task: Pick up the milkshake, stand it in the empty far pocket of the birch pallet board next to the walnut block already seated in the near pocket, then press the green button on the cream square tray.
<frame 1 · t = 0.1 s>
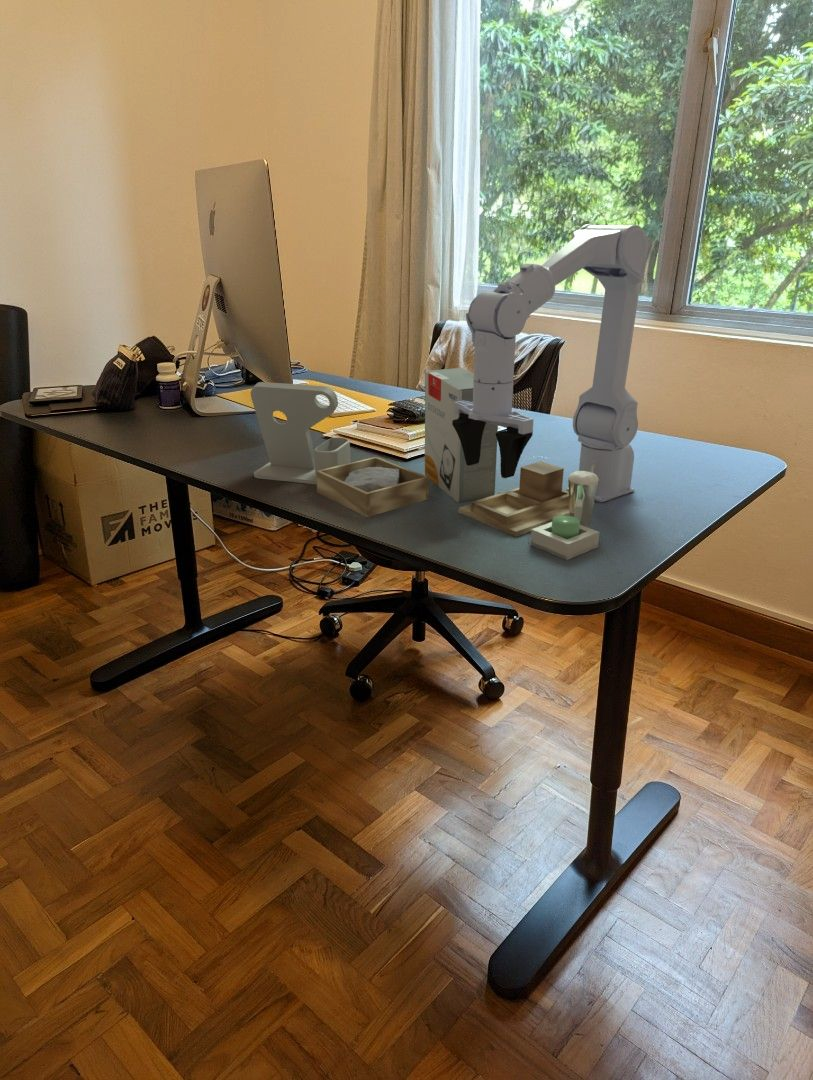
hand: (489, 470, 112), 10 cm above the table, tool pointing down, fingers open, 7 cm apart
milkshake: (580, 527, 118), on the table
wooden tray: (372, 495, 131), on the table
pallet: (523, 511, 124), on the table
hard drive box: (458, 487, 136), on the table
cream square tray: (563, 545, 111), on the table
stone block: (371, 496, 131), resting in wooden tray
phone holder: (304, 474, 143), on the table
button: (565, 528, 110), point 3 cm above the table, slide at 0.0 cm
walnut block: (539, 501, 126), point 1 cm above the table, touching pallet
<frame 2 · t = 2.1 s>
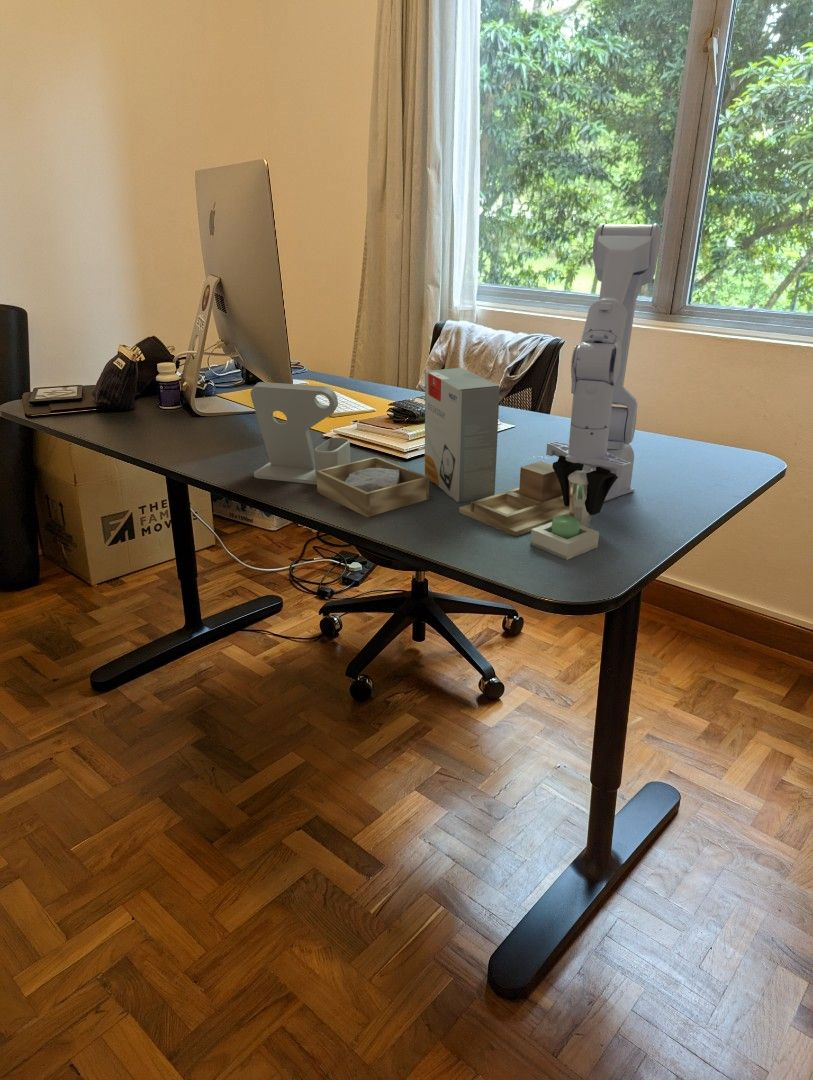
hand: (581, 508, 117), 3 cm above the table, tool pointing down, fingers closed on milkshake, 4 cm apart
milkshake: (580, 526, 118), on the table, touching gripper
stone block: (371, 496, 131), resting in wooden tray
everything else where it was.
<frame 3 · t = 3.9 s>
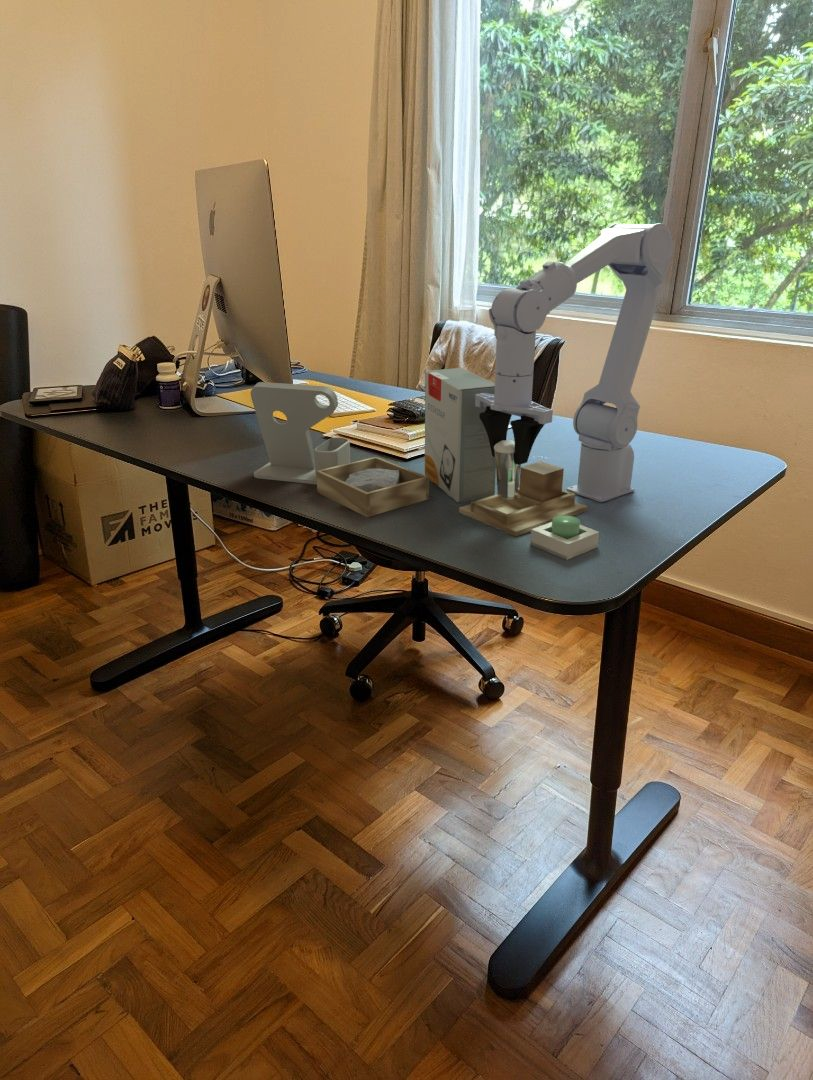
hand: (509, 459, 118), 10 cm above the table, tool pointing down, fingers closed on milkshake, 4 cm apart
milkshake: (509, 496, 120), point 4 cm above the table, touching gripper
everything else where it was.
when the fingers open (5 cm above the table, at t = 5.2 s): milkshake stays where it is, resting on pallet.
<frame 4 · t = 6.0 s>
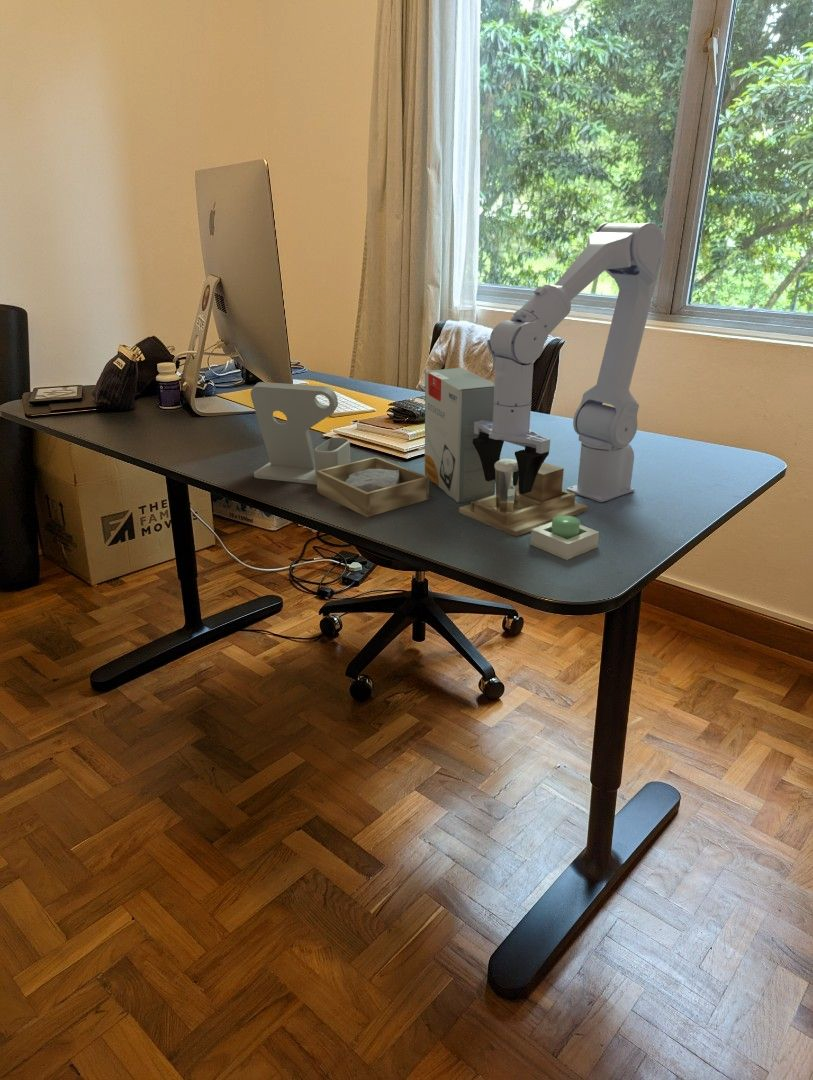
hand: (507, 485, 120), 5 cm above the table, tool pointing down, fingers open, 7 cm apart
milkshake: (507, 513, 122), point 1 cm above the table, touching pallet
everything else where it was.
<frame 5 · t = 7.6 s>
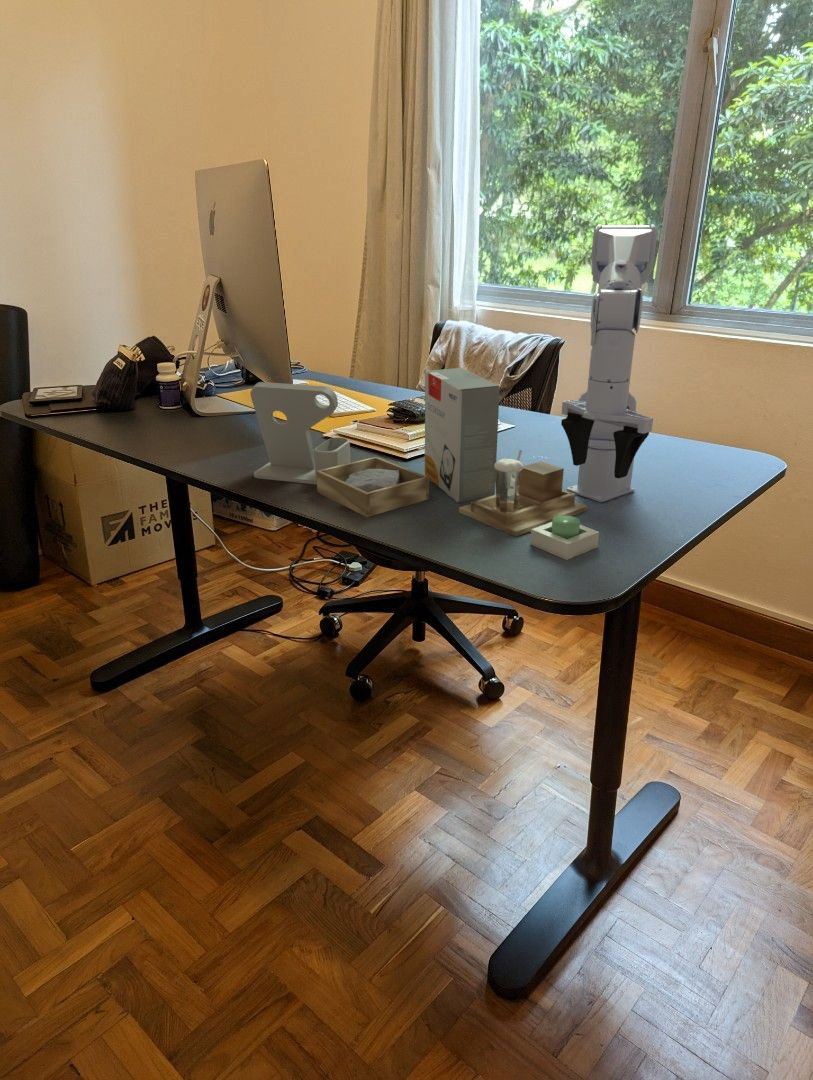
hand: (599, 470, 111), 10 cm above the table, tool pointing down, fingers open, 7 cm apart
nothing on the table moved.
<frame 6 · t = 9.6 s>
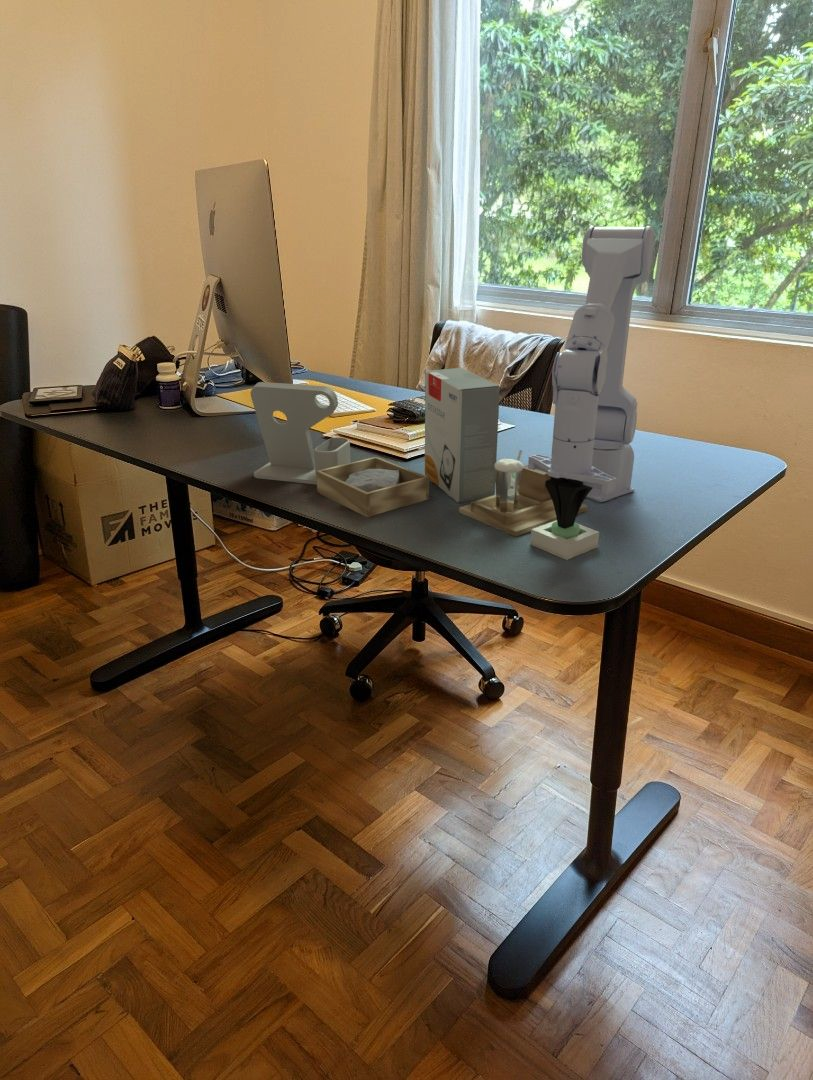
hand: (565, 526, 110), 3 cm above the table, tool pointing down, fingers closed, pressing on button
button: (565, 533, 110), point 2 cm above the table, slide at 0.8 cm, touching gripper
everything else where it was.
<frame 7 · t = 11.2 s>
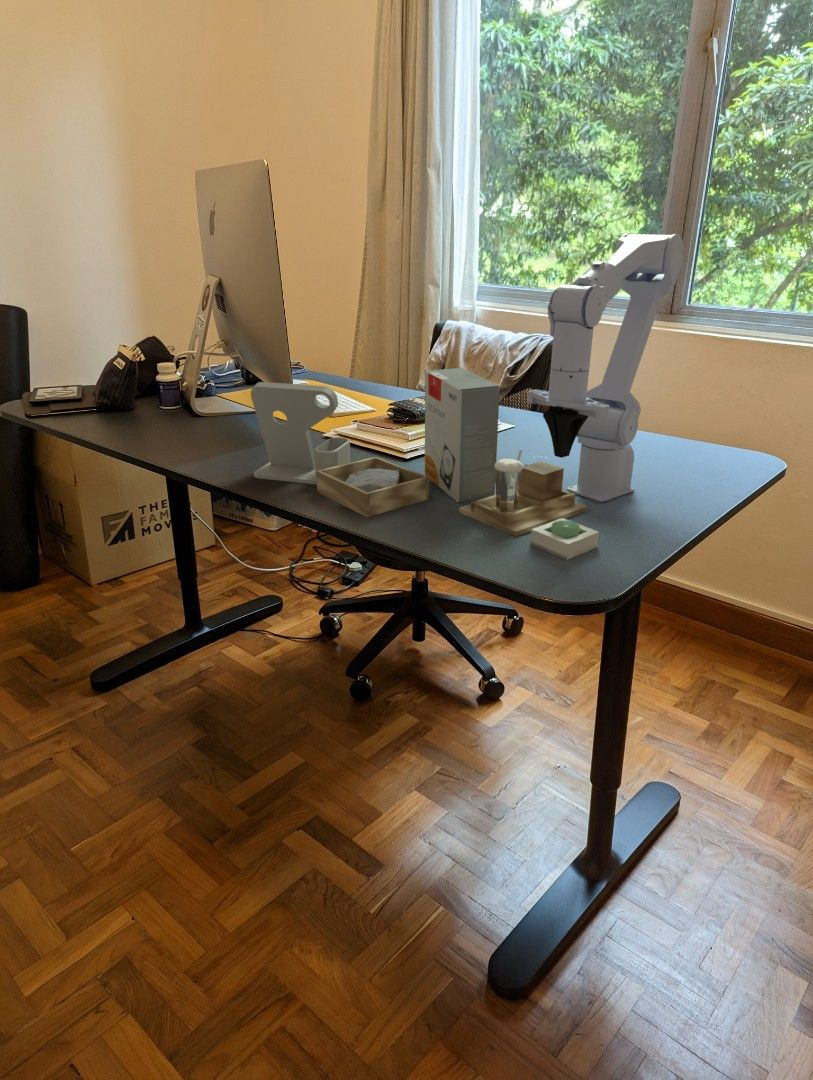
hand: (561, 455, 118), 10 cm above the table, tool pointing down, fingers closed
button: (565, 533, 110), point 2 cm above the table, slide at 0.8 cm
everything else where it was.
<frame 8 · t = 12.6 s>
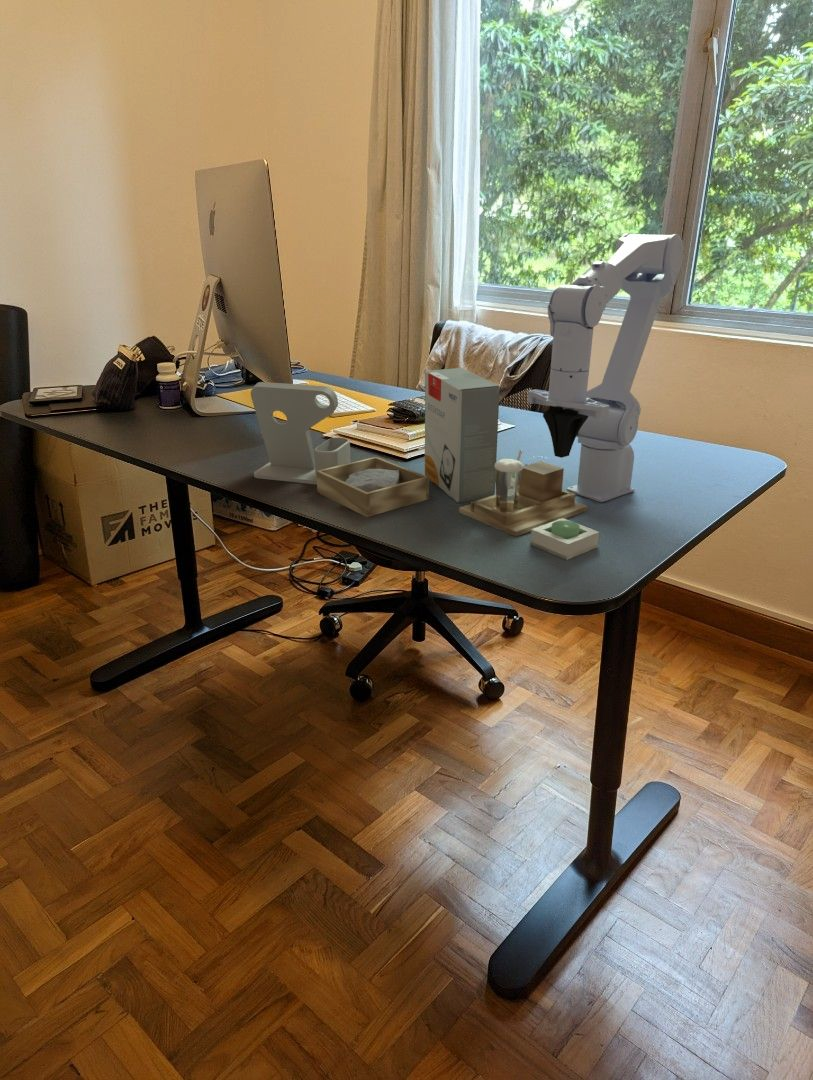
hand: (561, 455, 118), 10 cm above the table, tool pointing down, fingers closed
nothing on the table moved.
at the end: milkshake 0.3 cm from the target spot on the pallet, point 0.6 cm above the pallet's base; milkshake tilted 0°; button slide at 0.8 cm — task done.
